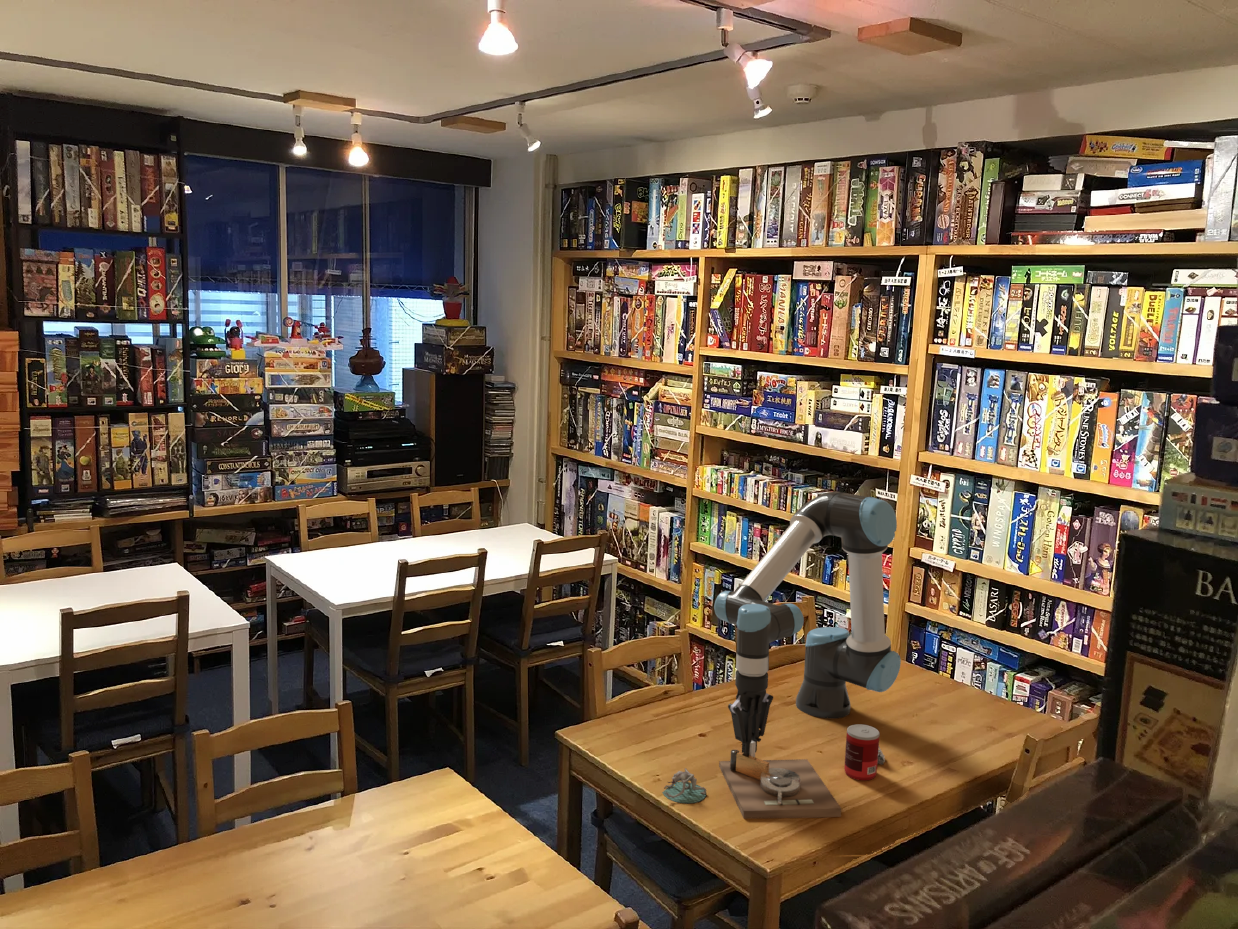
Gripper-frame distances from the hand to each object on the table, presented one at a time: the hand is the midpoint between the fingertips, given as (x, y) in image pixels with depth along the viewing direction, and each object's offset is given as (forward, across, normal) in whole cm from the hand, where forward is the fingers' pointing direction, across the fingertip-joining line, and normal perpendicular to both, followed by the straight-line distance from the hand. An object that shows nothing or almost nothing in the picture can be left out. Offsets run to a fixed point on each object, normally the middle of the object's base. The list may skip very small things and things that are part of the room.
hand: (748, 766), depth 225 cm
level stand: (+4, -2, +8) cm, 9 cm away
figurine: (+4, +18, -3) cm, 19 cm away
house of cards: (+5, -31, +10) cm, 33 cm away
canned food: (+4, -25, +13) cm, 29 cm away
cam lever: (+1, 0, +10) cm, 10 cm away
